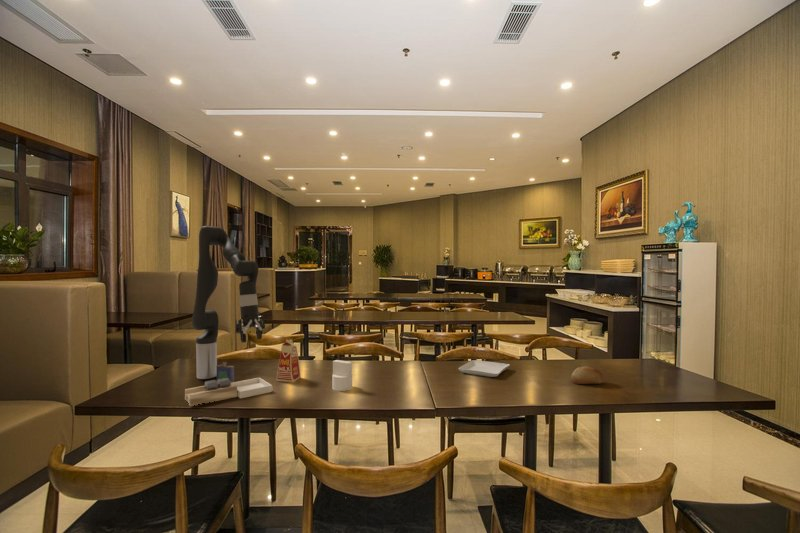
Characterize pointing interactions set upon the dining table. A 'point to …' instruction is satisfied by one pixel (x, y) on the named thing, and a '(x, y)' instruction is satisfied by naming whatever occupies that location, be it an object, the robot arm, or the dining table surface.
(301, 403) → the dining table surface
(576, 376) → the bread roll
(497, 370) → the salad plate
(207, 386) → the grey cube
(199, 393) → the channel
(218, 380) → the blue-grey cube
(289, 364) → the milk carton
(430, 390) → the dining table surface
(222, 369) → the flask
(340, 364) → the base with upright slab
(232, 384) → the tray
